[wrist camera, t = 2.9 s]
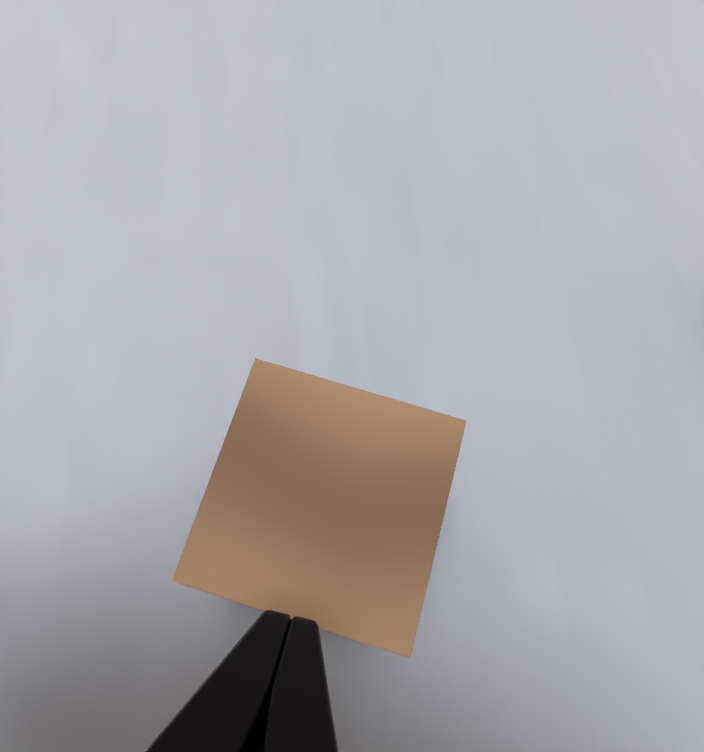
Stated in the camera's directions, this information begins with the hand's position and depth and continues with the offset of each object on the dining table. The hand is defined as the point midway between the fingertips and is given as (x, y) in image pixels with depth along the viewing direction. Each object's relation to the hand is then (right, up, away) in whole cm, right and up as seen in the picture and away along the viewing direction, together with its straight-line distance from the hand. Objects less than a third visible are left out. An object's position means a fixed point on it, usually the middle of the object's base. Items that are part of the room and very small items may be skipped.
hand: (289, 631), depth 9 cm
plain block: (0, -1, +11) cm, 11 cm away
